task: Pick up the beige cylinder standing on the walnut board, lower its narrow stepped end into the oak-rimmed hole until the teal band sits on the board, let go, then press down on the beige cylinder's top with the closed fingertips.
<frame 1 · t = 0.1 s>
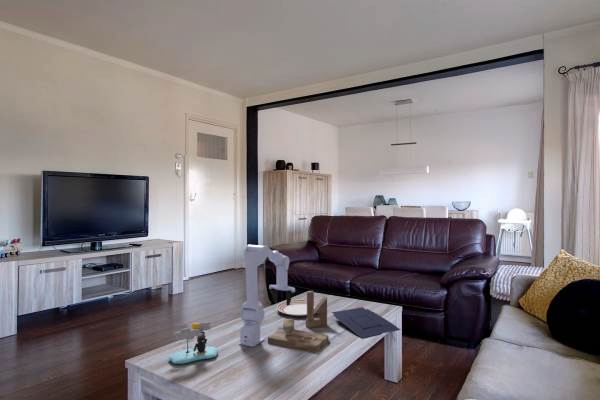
hand: (281, 304, 197), 10 cm above the table, fingers open, 7 cm apart
board: (298, 341, 172), on the table
beige cylinder: (288, 334, 174), point 2 cm above the table, touching board
penguin figurine: (194, 358, 155), on the table
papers: (363, 325, 194), on the table
wooden block: (316, 326, 193), on the table
dinner plate: (300, 311, 217), on the table
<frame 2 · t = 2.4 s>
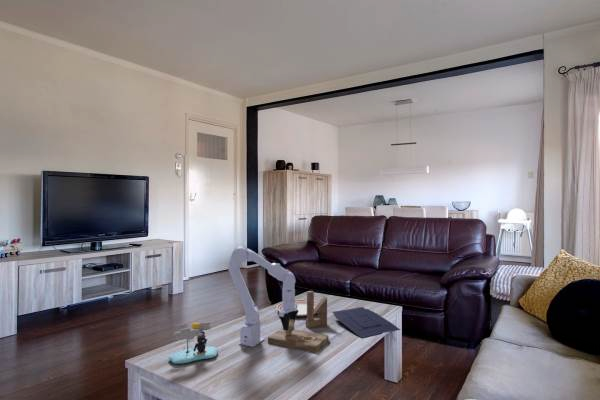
hand: (288, 327, 174), 6 cm above the table, fingers closed on beige cylinder, 5 cm apart
beige cylinder: (288, 334, 174), point 2 cm above the table, touching board, gripper
everything else where it was.
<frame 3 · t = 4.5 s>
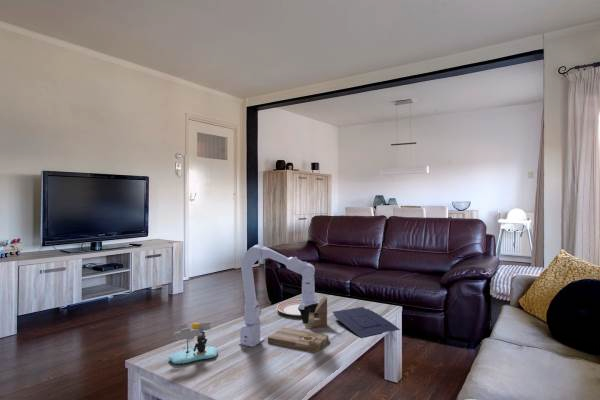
hand: (308, 321, 169), 10 cm above the table, fingers closed on beige cylinder, 5 cm apart
beige cylinder: (308, 328, 169), point 7 cm above the table, touching gripper
everything else where it was.
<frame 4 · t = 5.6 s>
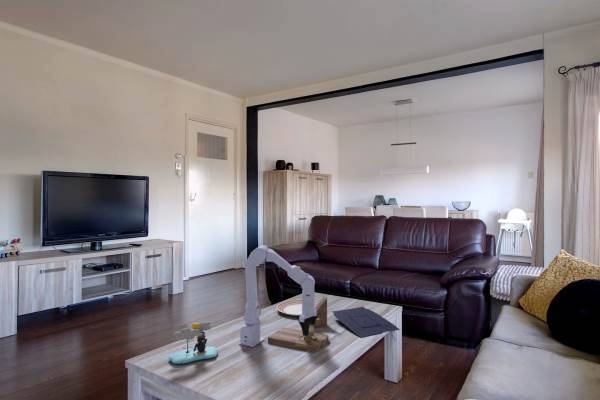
hand: (308, 333, 169), 5 cm above the table, fingers closed on beige cylinder, 5 cm apart
beige cylinder: (308, 340, 169), point 2 cm above the table, touching gripper
everything else where it was.
when the fingers open (3 cm above the table, at t = 6.5 s): beige cylinder stays where it is, resting on board.
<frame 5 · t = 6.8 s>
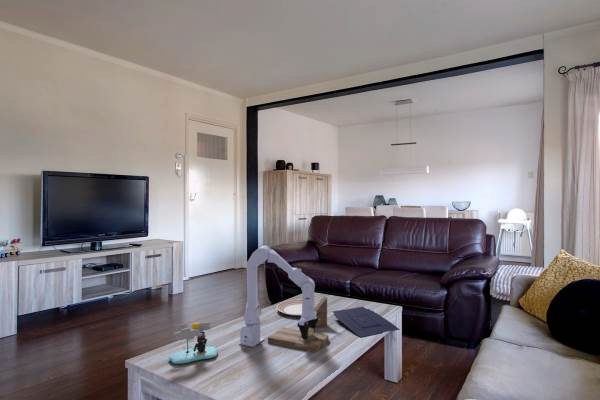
hand: (308, 336, 169), 3 cm above the table, fingers open, 7 cm apart
beige cylinder: (308, 343, 169), resting on board
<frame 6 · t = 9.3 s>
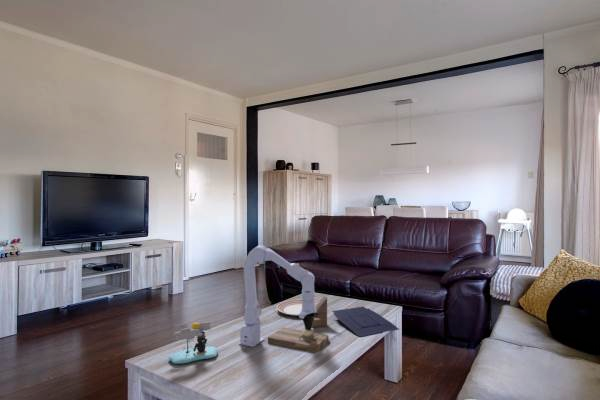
hand: (308, 329, 169), 6 cm above the table, fingers closed, pressing on beige cylinder
beige cylinder: (308, 343, 169), resting on board, touching gripper
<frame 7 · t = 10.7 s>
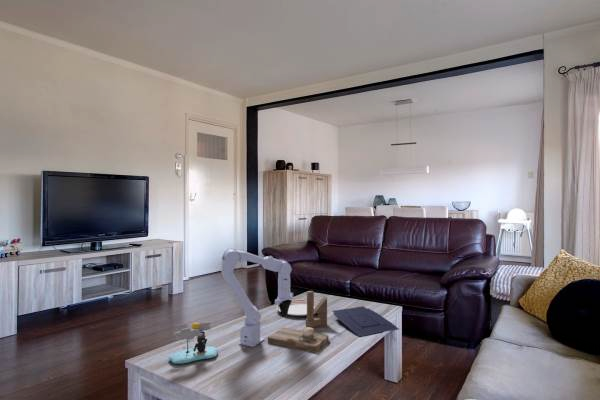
hand: (284, 316, 176), 10 cm above the table, fingers closed
beige cylinder: (308, 343, 169), resting on board
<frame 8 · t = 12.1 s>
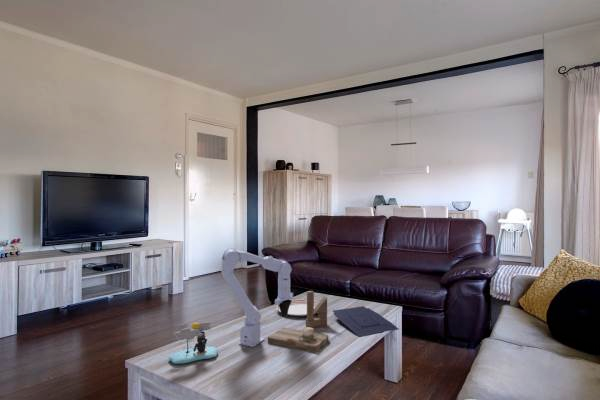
hand: (284, 316, 176), 10 cm above the table, fingers closed
at the end: beige cylinder 0.0 cm from the target spot on the board, point 0.0 cm above the board's base; beige cylinder tilted 0°; the gripper is holding nothing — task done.
